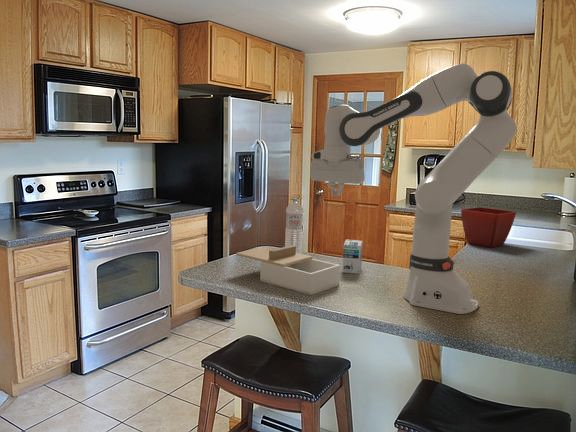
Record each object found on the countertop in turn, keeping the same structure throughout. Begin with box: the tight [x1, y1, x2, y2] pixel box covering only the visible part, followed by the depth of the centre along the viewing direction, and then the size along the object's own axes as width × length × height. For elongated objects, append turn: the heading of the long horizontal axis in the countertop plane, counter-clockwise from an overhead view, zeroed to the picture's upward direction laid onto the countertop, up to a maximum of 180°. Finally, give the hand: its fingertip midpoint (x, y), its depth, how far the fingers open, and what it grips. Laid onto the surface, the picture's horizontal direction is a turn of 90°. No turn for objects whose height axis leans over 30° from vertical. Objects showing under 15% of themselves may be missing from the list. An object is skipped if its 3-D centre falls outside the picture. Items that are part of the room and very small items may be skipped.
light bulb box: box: [341, 238, 364, 275], centre depth 190 cm, size 11×7×11 cm, turn 168°
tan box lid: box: [235, 245, 313, 267], centre depth 178 cm, size 22×16×4 cm
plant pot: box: [460, 207, 517, 248], centre depth 245 cm, size 19×19×17 cm
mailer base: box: [259, 258, 341, 296], centre depth 171 cm, size 22×16×7 cm
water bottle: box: [284, 197, 304, 254], centre depth 203 cm, size 7×7×25 cm
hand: (336, 195), depth 170 cm, fingers closed
